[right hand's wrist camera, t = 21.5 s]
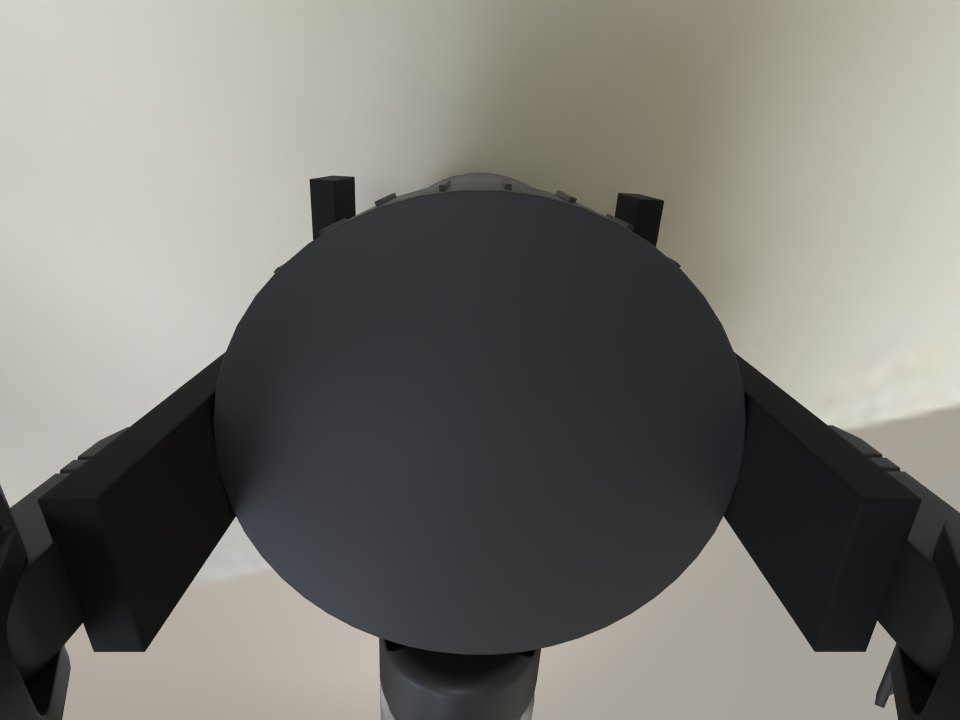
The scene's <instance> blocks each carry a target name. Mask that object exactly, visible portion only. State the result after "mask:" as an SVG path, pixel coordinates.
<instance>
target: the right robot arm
mask: <svg viewBox="0 0 960 720" xmlns="http://www.w3.org/2000/svg"><path fill="white" fill-rule="evenodd" d="M225 353H226V352H225ZM225 353H224V354H222V355H221V356H220V357H219V358H217V359H216V360H215V361H214V362H212V363H211V364H210V365H208V366H207V367H206V368H205V369H203V370H202V371H201V372H200V373H198V374H197V375H196V376H194V377H193V378H192V379H191V380H189V381H188V382H187V383H185V384H184V385H183V386H182V387H180V388H179V389H178V390H177V391H175V392H174V393H173V394H171V395H170V396H169V397H168V398H166V399H165V400H164V401H163V402H161V403H160V404H159V405H157V406H156V407H155V408H154V409H152V410H151V411H150V412H148V413H147V414H146V415H145V416H143V417H142V418H141V419H140V420H138V421H137V422H136V423H134V424H133V425H132V426H131V427H127V428H125V429H123V430H121V431H119V432H117V433H115V434H113V435H110V436H108V437H106V438H104V439H102V440H100V441H98V442H97V443H96V444H94V445H93V446H92V447H90V448H89V449H88V450H86V451H85V452H84V453H82V454H81V455H80V456H78V460H73V461H72V462H70V463H69V464H68V465H67V466H65V467H64V468H63V469H61V470H60V474H55V475H53V476H52V477H51V478H49V479H48V480H47V481H45V482H44V483H43V484H41V485H40V486H39V487H37V488H36V489H35V490H33V491H32V492H31V493H29V494H28V495H27V496H26V497H24V498H23V499H22V500H20V501H19V502H18V503H16V504H15V505H14V506H12V507H11V508H9V505H8V503H7V500H6V498H5V495H4V493H3V490H2V488H1V485H0V720H62V717H63V711H64V705H65V699H66V693H67V687H68V681H69V675H70V669H71V667H70V661H69V656H68V653H67V651H66V648H65V646H64V644H65V643H66V642H67V641H68V640H69V638H70V637H71V636H72V635H73V634H74V632H75V631H76V630H77V629H78V628H79V626H80V625H81V624H82V623H84V626H85V629H86V632H87V634H88V637H89V640H90V642H91V645H92V648H93V650H94V652H145V651H146V649H147V648H148V646H149V645H150V643H151V642H152V640H153V639H154V637H155V636H156V634H157V633H158V631H159V630H160V628H161V627H162V625H163V624H164V622H165V621H166V619H167V618H168V616H169V615H170V613H171V612H172V611H173V609H174V607H175V606H176V605H177V603H178V602H179V600H180V599H181V597H182V596H183V594H184V593H185V591H186V590H187V588H188V587H189V585H190V584H191V582H192V581H193V579H194V578H195V576H196V575H197V573H198V572H199V570H200V569H201V567H202V566H203V564H204V563H205V561H206V560H207V558H208V557H209V555H210V554H211V552H212V551H213V549H214V548H215V546H216V545H217V543H218V542H219V540H220V539H221V538H222V536H223V535H224V533H225V532H226V530H227V529H228V527H229V526H230V524H231V523H232V521H233V520H234V518H235V517H236V515H235V513H234V511H233V509H232V507H231V504H230V502H229V499H228V496H227V494H226V491H225V488H224V485H223V483H222V479H221V474H220V470H219V465H218V460H217V456H216V451H215V441H214V424H213V416H214V406H215V395H216V386H217V382H218V378H219V374H220V370H221V366H222V362H223V359H224V355H225ZM734 354H735V356H736V360H737V364H738V368H739V372H740V376H741V380H742V384H743V388H744V399H745V410H746V434H745V448H744V453H743V458H742V463H741V467H740V472H739V477H738V481H737V484H736V487H735V490H734V492H733V495H732V498H731V500H730V503H729V506H728V508H727V510H726V512H725V514H724V517H725V519H726V520H727V522H728V523H729V525H730V526H731V528H732V529H733V531H734V532H735V534H736V535H737V537H738V538H739V540H740V541H741V543H742V544H743V545H744V547H745V548H746V550H747V551H748V553H749V554H750V556H751V557H752V559H753V560H754V562H755V563H756V565H757V566H758V568H759V569H760V571H761V572H762V574H763V575H764V577H765V578H766V580H767V581H768V583H769V584H770V586H771V587H772V589H773V590H774V592H775V593H776V595H777V596H778V598H779V599H780V601H781V602H782V604H783V605H784V607H785V608H786V610H787V611H788V613H789V614H790V615H791V617H792V618H793V620H794V621H795V623H796V624H797V626H798V627H799V629H800V630H801V632H802V633H803V635H804V636H805V638H806V639H807V641H808V642H809V644H810V645H811V647H812V648H813V650H814V651H815V652H865V651H866V649H867V647H868V644H869V641H870V638H871V636H872V633H873V630H874V628H875V625H876V622H877V620H878V622H879V623H880V624H881V625H882V626H883V627H884V629H885V630H886V631H887V632H888V633H889V635H890V636H891V637H892V638H893V639H894V640H895V642H896V646H895V648H894V651H893V653H892V656H891V658H890V661H889V663H888V666H887V668H886V671H885V673H884V676H883V678H882V681H881V683H880V686H879V688H878V691H877V694H876V700H875V705H878V706H880V707H883V708H884V707H885V704H886V702H887V700H888V697H889V696H890V695H892V694H894V697H895V703H896V709H897V715H898V720H960V513H959V512H958V511H956V510H955V509H954V508H953V507H951V506H950V505H949V504H947V503H946V502H945V501H943V500H942V499H940V498H939V497H938V496H937V495H935V494H934V493H933V492H931V491H930V490H929V489H927V488H926V487H925V486H923V485H922V484H920V483H919V482H918V481H917V480H915V479H914V478H913V477H911V476H910V475H908V474H907V473H906V472H901V471H900V468H899V467H898V466H897V465H895V464H894V463H893V462H891V461H890V460H889V459H887V458H883V457H882V454H881V453H879V452H878V451H877V450H875V449H874V448H872V447H871V446H870V445H869V444H867V443H866V442H865V441H863V440H862V439H860V438H858V437H856V436H854V435H852V434H850V433H848V432H845V431H843V430H841V429H839V428H837V427H835V426H833V425H826V424H825V423H824V422H823V421H821V420H820V419H819V418H818V417H816V416H815V415H814V414H812V413H811V412H810V411H809V410H807V409H806V408H805V407H803V406H802V405H801V404H800V403H798V402H797V401H796V400H795V399H793V398H792V397H791V396H789V395H788V394H787V393H786V392H784V391H783V390H782V389H781V388H779V387H778V386H777V385H775V384H774V383H773V382H772V381H770V380H769V379H768V378H766V377H765V376H764V375H763V374H761V373H760V372H759V371H758V370H756V369H755V368H754V367H752V366H751V365H750V364H749V363H747V362H746V361H745V360H744V359H742V358H741V357H740V356H738V355H737V354H736V353H735V352H734Z"/></svg>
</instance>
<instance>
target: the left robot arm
mask: <svg viewBox="0 0 960 720" xmlns="http://www.w3.org/2000/svg"><path fill="white" fill-rule="evenodd" d="M310 192H311V209H312V226H313V241H314V240H315V239H317V238H318V237H320V236H321V235H320V233H319V231H320V230H322V229H324V228H326V227H328V226H330V225H332V224H334V223H336V222H338V221H340V220H342V219H344V218H346V219H347V220H348V219H350V218H352V217H354V216H356V214H355V179H354V177H347V176H328V177H321V178H315V179H310ZM663 204H664V201H663V200H659V199H656V198H652V197H648V196H644V195H640V194H627V193H618V199H617V205H616V212H615V217H616V218H618V219H620V220H622V221H624V222H626V223H628V224H630V225H632V226H633V227H634V228H633V230H632V232H633V233H635V234H636V235H638V236H640V237H641V238H643V239H644V240H646V241H648V242H649V243H651V244H652V245H653V246H655V247H656V243H657V238H658V232H659V227H660V221H661V216H662V210H663ZM379 650H380V681H381V684H380V704H381V720H531V718H532V712H533V705H534V691H535V687H536V682H537V674H538V667H539V660H540V653H541V648H540V649H534V650H529V651H524V652H515V653H504V654H455V653H445V652H435V651H430V650H425V649H420V648H415V647H410V646H406V645H402V644H399V643H395V642H392V641H389V640H385V639H382V638H379Z"/></svg>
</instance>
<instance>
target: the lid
mask: <svg viewBox="0 0 960 720" xmlns="http://www.w3.org/2000/svg"><path fill="white" fill-rule="evenodd" d="M576 200H577V199H576V198H574V197H572V196H570V195H568V194H565V193H563V192H561V191H557V193H556V195H555V194H551V193H548V192H544V191H541V190H537V189H534V188H530V187H523V186H516V185H512V184H511V183H510V182H509V181H508V180H507V179H502V182H501V183H458V184H451V182H450V180H445V181H444V182H442V183H441V184H440V185H439V186H436V187H430V188H426V189H422V190H419V191H415V192H412V193H408V194H405V195H401V196H398V197H396V194H395V193H393V194H391V195H388V196H386V197H384V198H382V199H380V200H378V201H376V202H375V204H376V206H375V207H373V208H371V209H368V210H366V211H364V212H362V213H360V214H358V215H356V216H354V217H352V218H350V219H348V220H347V219H346V218H344V219H342V220H340V221H338V222H336V223H334V224H332V225H330V226H328V227H326V228H324V229H322V230H320V231H319V233H320V235H321V236H320V237H318V238H317V239H315V240H314V241H312V242H310V243H309V244H307V245H306V246H305V247H304V248H303V249H302V250H300V251H299V252H298V253H297V254H296V255H295V256H293V257H292V258H291V259H290V260H289V261H288V262H286V263H285V264H284V265H282V266H280V267H278V268H277V269H276V270H275V271H274V273H275V274H274V275H273V276H272V278H271V279H270V280H269V281H268V282H267V283H266V285H265V286H264V287H263V288H262V289H261V290H260V291H259V293H258V294H257V295H256V296H255V298H254V299H253V301H252V303H251V304H250V306H249V307H248V309H247V311H246V312H245V314H244V315H243V317H242V319H241V320H240V322H239V323H238V325H237V327H236V329H235V332H234V334H233V336H232V339H231V341H230V343H229V346H228V348H227V350H226V353H225V355H224V359H223V362H222V366H221V370H220V374H219V378H218V382H217V386H216V395H215V406H214V416H213V424H214V441H215V451H216V456H217V460H218V465H219V470H220V474H221V479H222V483H223V485H224V488H225V491H226V494H227V496H228V499H229V502H230V504H231V507H232V509H233V511H234V513H235V515H236V517H237V518H238V520H239V522H240V524H241V526H242V528H243V530H244V532H245V533H246V535H247V536H248V538H249V539H250V540H251V542H252V543H253V545H254V546H255V547H256V549H257V550H258V552H259V553H260V554H261V556H262V557H263V558H264V559H265V560H266V561H267V563H268V564H269V565H270V566H271V567H272V568H273V569H274V570H275V571H276V572H277V573H278V574H279V576H280V577H281V578H282V579H283V580H285V581H286V582H287V583H288V584H289V585H290V586H292V587H293V588H294V589H295V590H296V591H297V592H299V593H300V594H301V595H302V596H303V597H305V598H306V599H307V600H309V601H310V602H312V603H313V604H315V605H316V606H318V607H319V608H321V609H322V610H324V611H325V612H327V613H328V614H330V615H332V616H334V617H336V618H337V619H339V620H341V621H343V622H345V623H347V624H349V625H351V626H352V627H355V628H357V629H359V630H362V631H364V632H367V633H369V634H372V635H374V636H377V637H379V638H382V639H385V640H389V641H392V642H395V643H399V644H402V645H406V646H410V647H415V648H420V649H425V650H430V651H435V652H445V653H455V654H504V653H515V652H524V651H529V650H534V649H540V648H544V647H550V646H554V645H557V644H561V643H564V642H567V641H571V640H574V639H578V638H580V637H583V636H585V635H588V634H590V633H593V632H595V631H598V630H600V629H602V628H605V627H607V626H609V625H611V624H613V623H615V622H616V621H618V620H620V619H622V618H624V617H626V616H628V615H630V614H631V613H633V612H634V611H636V610H637V609H639V608H640V607H642V606H643V605H645V604H646V603H648V602H649V601H651V600H652V599H654V598H655V597H656V596H657V595H659V594H660V593H661V592H662V591H663V590H664V589H666V588H667V587H668V586H669V585H670V584H671V583H673V582H674V581H675V580H676V579H677V578H678V577H679V576H680V575H681V574H682V573H683V572H684V571H685V570H686V569H687V567H688V566H689V565H690V564H691V563H692V562H693V561H694V560H695V559H696V558H697V556H698V555H699V554H700V552H701V551H702V549H703V548H704V547H705V545H706V544H707V543H708V541H709V540H710V538H711V537H712V536H713V534H714V532H715V531H716V529H717V527H718V525H719V523H720V521H721V519H722V517H723V516H724V514H725V512H726V510H727V508H728V506H729V503H730V500H731V498H732V495H733V492H734V490H735V487H736V484H737V481H738V477H739V472H740V467H741V463H742V458H743V453H744V448H745V434H746V410H745V399H744V388H743V384H742V380H741V376H740V372H739V368H738V364H737V360H736V356H735V354H734V352H733V349H732V347H731V344H730V342H729V340H728V337H727V335H726V333H725V330H724V328H723V326H722V324H721V322H720V321H719V319H718V318H717V316H716V314H715V313H714V311H713V310H712V308H711V306H710V305H709V303H708V302H707V300H706V298H705V297H704V295H703V294H702V293H701V292H700V291H699V290H698V288H697V287H696V286H695V285H694V284H693V283H692V282H691V280H690V279H689V278H688V277H687V276H686V275H685V273H684V272H683V271H682V270H681V269H680V267H681V266H680V265H679V264H678V263H677V262H675V261H674V260H672V259H670V258H668V257H666V256H665V255H664V254H663V253H662V252H660V251H659V250H658V249H657V248H656V247H655V246H653V245H652V244H651V243H649V242H648V241H646V240H644V239H643V238H641V237H640V236H638V235H636V234H635V233H633V232H632V230H633V228H634V227H633V226H632V225H630V224H628V223H626V222H624V221H622V220H620V219H618V218H616V217H613V216H611V215H609V214H607V215H606V217H605V216H603V215H601V214H599V213H597V212H595V211H593V210H591V209H589V208H587V207H584V206H582V205H580V204H578V203H576Z"/></svg>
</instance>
